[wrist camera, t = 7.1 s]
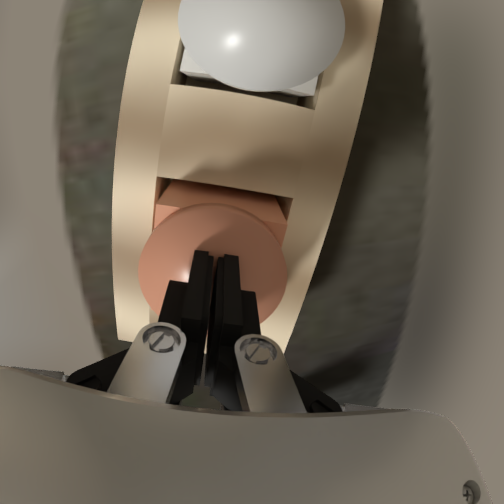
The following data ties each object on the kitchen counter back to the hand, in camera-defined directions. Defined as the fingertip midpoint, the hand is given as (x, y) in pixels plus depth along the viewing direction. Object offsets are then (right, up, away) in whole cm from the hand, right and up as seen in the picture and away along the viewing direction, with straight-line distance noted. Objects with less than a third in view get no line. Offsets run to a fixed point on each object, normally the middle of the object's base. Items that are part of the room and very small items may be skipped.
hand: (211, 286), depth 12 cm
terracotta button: (0, +3, +5) cm, 6 cm away
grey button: (+2, +12, +1) cm, 12 cm away
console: (0, +8, +5) cm, 9 cm away
